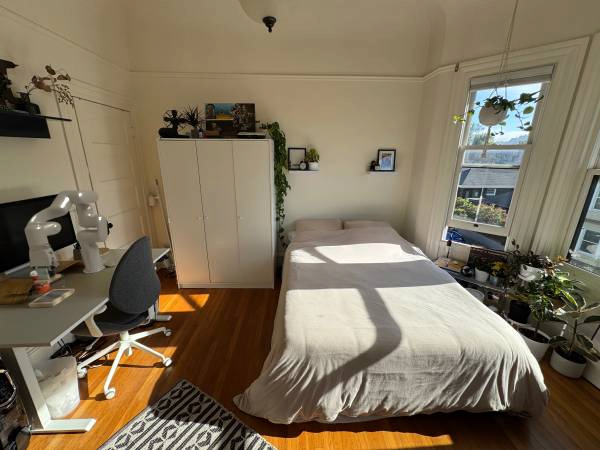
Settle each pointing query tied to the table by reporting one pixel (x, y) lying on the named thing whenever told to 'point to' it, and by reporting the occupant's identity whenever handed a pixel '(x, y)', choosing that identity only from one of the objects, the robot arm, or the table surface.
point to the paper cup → (39, 287)
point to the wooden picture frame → (51, 298)
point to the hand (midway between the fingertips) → (47, 276)
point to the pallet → (44, 275)
